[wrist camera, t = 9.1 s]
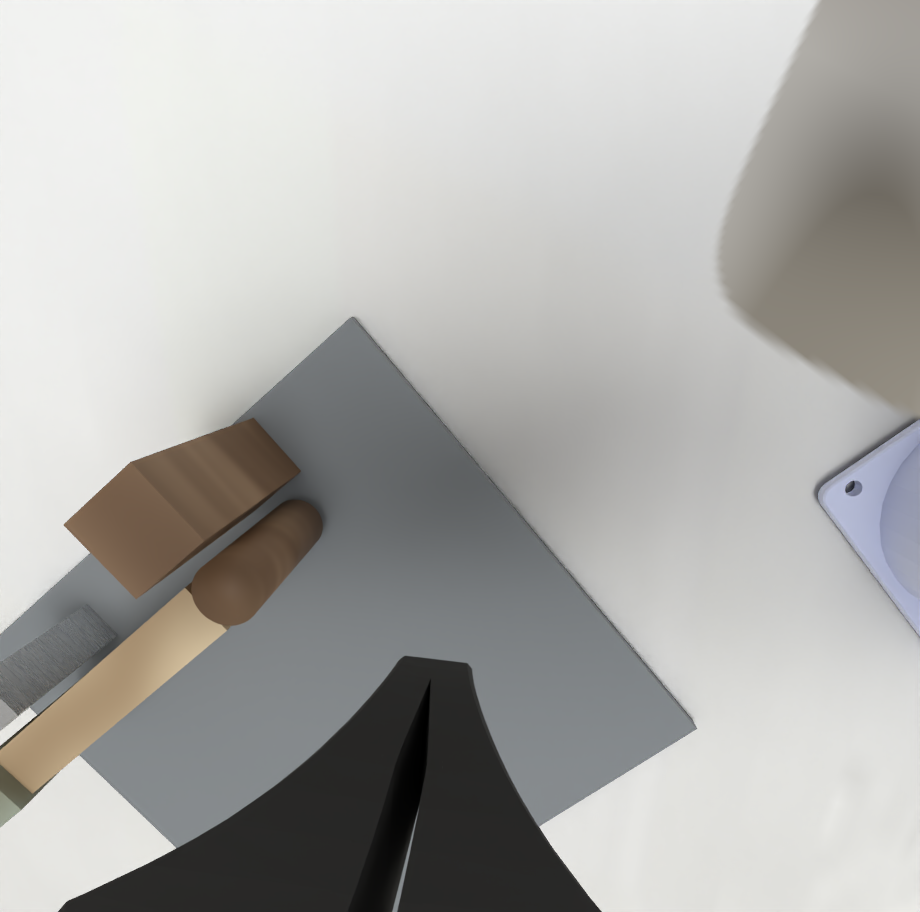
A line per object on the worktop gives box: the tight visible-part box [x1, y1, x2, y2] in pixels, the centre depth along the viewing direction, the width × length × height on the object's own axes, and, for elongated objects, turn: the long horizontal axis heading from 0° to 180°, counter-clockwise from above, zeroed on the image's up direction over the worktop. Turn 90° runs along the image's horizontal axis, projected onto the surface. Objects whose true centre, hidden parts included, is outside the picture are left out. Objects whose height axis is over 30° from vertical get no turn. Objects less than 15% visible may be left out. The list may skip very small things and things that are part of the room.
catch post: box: [0, 604, 118, 731], centre depth 19 cm, size 2×2×5 cm
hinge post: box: [64, 418, 301, 599], centre depth 17 cm, size 2×2×7 cm
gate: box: [0, 500, 323, 827], centre depth 18 cm, size 2×12×5 cm, turn 131°
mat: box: [0, 317, 697, 912], centre depth 22 cm, size 20×19×1 cm
